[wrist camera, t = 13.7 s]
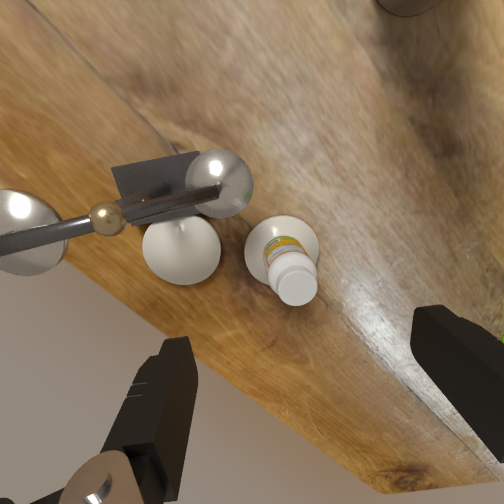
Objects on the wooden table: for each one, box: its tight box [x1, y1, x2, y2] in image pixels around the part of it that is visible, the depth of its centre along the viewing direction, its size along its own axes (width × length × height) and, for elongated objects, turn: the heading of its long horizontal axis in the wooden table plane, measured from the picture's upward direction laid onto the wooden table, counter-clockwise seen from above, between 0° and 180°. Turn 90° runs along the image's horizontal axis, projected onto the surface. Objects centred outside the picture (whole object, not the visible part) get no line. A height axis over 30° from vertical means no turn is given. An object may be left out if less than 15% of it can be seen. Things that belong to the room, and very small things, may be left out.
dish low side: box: [244, 215, 319, 286], centre depth 36 cm, size 10×10×1 cm
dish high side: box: [142, 214, 221, 285], centre depth 35 cm, size 10×10×1 cm
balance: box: [0, 149, 253, 276], centre depth 23 cm, size 21×7×19 cm, turn 100°
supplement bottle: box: [263, 235, 317, 306], centre depth 30 cm, size 5×5×10 cm
